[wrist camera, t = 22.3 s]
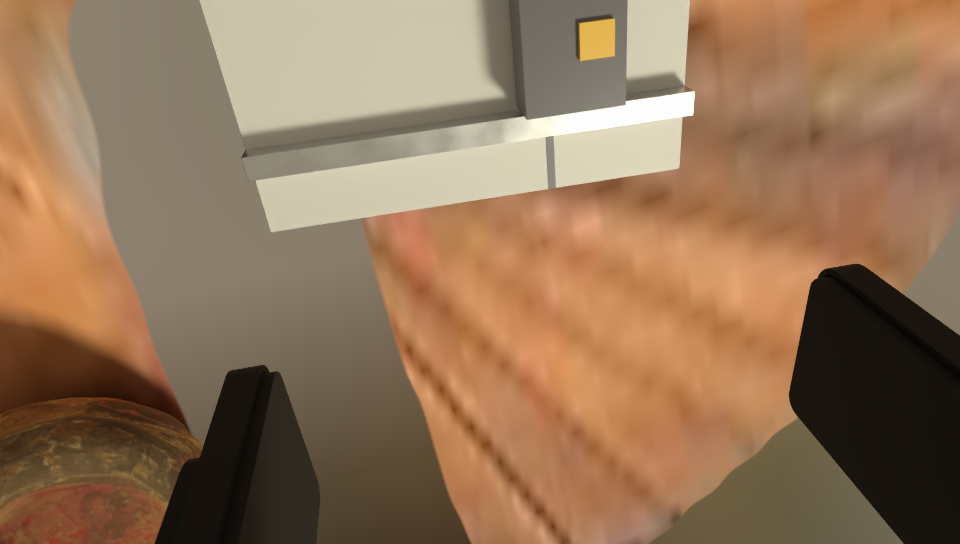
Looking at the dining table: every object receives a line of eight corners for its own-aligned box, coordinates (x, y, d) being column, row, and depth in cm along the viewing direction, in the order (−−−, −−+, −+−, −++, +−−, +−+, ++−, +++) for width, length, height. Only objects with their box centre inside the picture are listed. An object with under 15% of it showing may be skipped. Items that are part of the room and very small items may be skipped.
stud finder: (506, -35, 35) (518, -30, 32) (609, -48, 35) (630, -45, 33) (516, 106, 39) (527, 121, 36) (609, 92, 40) (627, 106, 37)
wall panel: (142, -219, 31) (117, -234, 28) (690, -276, 33) (722, -295, 30) (275, 219, 43) (267, 242, 40) (667, 158, 45) (688, 176, 42)
